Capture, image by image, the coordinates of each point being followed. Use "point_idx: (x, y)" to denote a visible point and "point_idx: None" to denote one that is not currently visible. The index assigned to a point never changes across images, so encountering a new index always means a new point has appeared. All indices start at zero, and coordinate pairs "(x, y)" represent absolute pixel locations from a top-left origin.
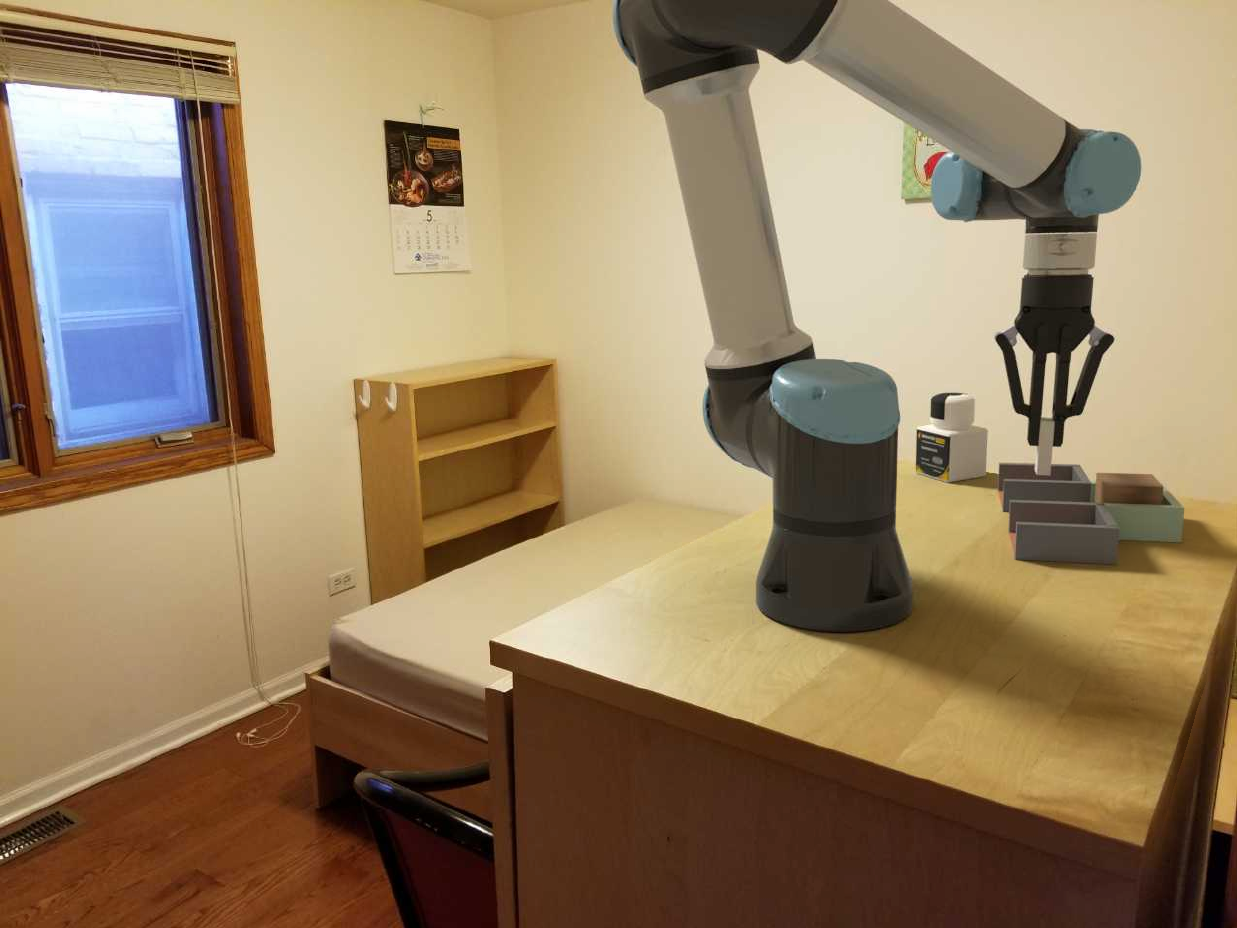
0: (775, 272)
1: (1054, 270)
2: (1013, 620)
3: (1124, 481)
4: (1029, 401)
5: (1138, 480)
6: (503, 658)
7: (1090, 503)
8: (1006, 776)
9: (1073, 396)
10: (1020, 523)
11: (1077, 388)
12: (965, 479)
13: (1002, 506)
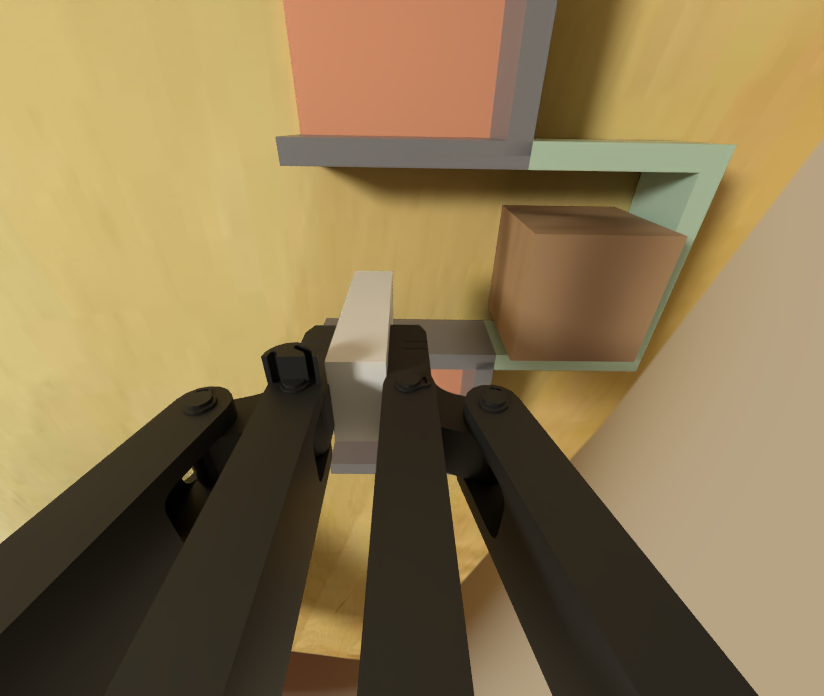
0: None
1: None
2: (342, 549)
3: (570, 323)
4: (248, 426)
5: (609, 311)
6: None
7: (469, 360)
8: (342, 649)
9: (491, 468)
10: (336, 469)
11: (511, 551)
12: None
13: (300, 129)
